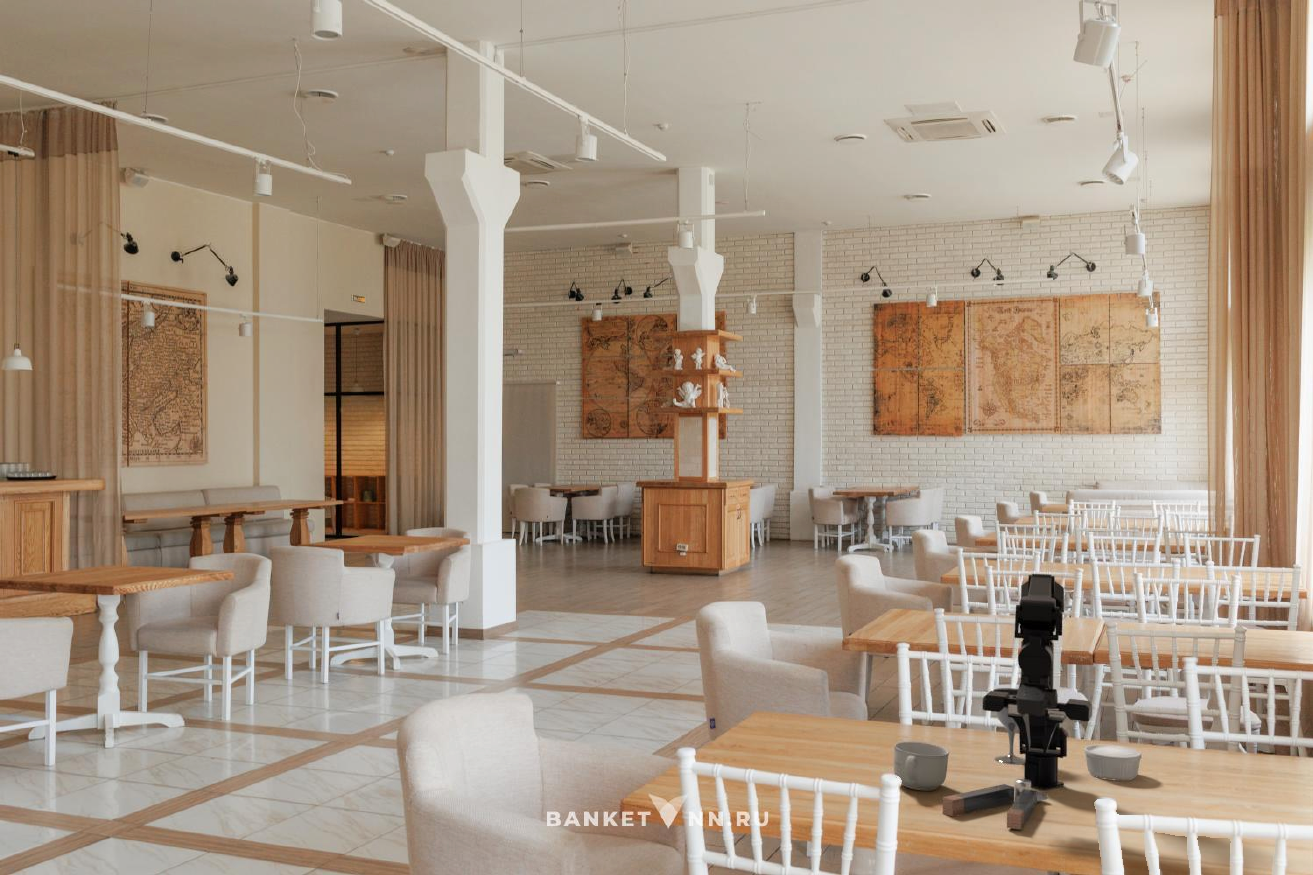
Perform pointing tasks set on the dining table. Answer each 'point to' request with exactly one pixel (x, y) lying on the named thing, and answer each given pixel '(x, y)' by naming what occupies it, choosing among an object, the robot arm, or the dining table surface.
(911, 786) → the teacup
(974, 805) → the base
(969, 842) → the dining table surface
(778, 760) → the dining table surface
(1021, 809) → the tongs arm
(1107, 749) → the ramekin
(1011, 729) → the wine glass
